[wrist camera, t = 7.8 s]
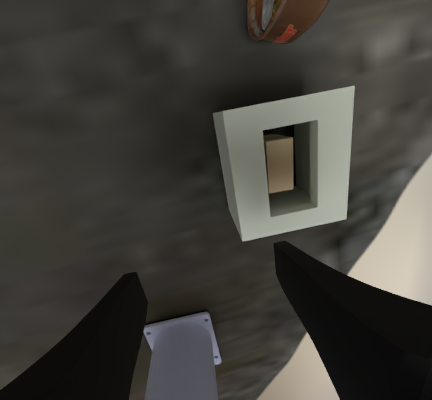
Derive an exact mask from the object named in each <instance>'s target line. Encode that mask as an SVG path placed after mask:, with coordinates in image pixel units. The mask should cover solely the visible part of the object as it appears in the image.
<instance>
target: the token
mask: <svg viewBox="0 0 432 400" xmlns="http://www.w3.org/2000/svg"><path fill="white" fill-rule="evenodd" d="M263 139H264V151H265V162H266V173H267V184H268V193H269V194H270V193H275V192H281V191H286V190H292V189H294V186H293V137H288V136H283V135H277V134H269V135H263Z"/></svg>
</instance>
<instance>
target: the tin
mask: <svg viewBox="0 0 432 400" xmlns="http://www.w3.org/2000/svg"><path fill="white" fill-rule="evenodd" d="M329 1H330V0H248V3H247V25H248V31H249V34H250V37H251V38H252V39H253V40H255V41H259V40H264V41H269V42H274V43H280V44H287V43H291V42H293V41H294V40H296V39H297V38H298V37H300V36H301V35H302V34H303V33H304V32H305V31H306V30H307V29H308V28H310V27H311V26H312V25H313V24H314V23H315V22H316V20H317V19H318V18H319V17H320V15H321V14H322V12H323V11H324V9H325V8H326V6H327V5H328V3H329Z"/></svg>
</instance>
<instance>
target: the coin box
mask: <svg viewBox="0 0 432 400" xmlns="http://www.w3.org/2000/svg"><path fill="white" fill-rule="evenodd" d="M354 87H355V86H351V87H345V88H340V89H335V90H330V91H325V92H319V93H314V94H309V95H304V96H299V97H293V98H288V99H283V100H278V101H273V102H267V103H262V104H257V105H252V106H247V107H241V108H236V109H231V110H226V111H221V112H216V113H213V119H214V125H215V130H216V136H217V142H218V148H219V154H220V160H221V166H222V171H223V177H224V183H225V189H226V195H227V201H228V207H229V211H230V213H231V215H232V218H233V220H234V222H235V225H236V227H237V230H238V232H239V234H240V237H241V239H242V242H243V241H248V240H253V239H257V238H262V237H266V236H271V235H276V234H280V233H285V232H289V231H294V230H299V229H303V228H308V227H312V226H317V225H322V224H326V223H331V222H335V221H340V220H345V219H346V217H347V201H348V185H349V168H350V152H351V136H352V120H353V104H354ZM293 124H294V139H295V166H296V186H294V189H292V190H286V191H281V192H275V193H270V194H269V193H268V184H267V173H266V162H265V151H264V139H263V130H268V129H273V128H278V127H283V126H288V125H293Z"/></svg>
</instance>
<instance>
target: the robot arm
mask: <svg viewBox="0 0 432 400" xmlns="http://www.w3.org/2000/svg"><path fill="white" fill-rule="evenodd" d="M274 253H275V266H276V275H277V277H278V280H279V282H280V284H281V287H282V289H283V291H284V293H285V295H286V296H287V298H288V300H289V302H290V303H291V305H292V307H293V308H294V310H295V312H296V313H297V315H298V317H299V318H300V320H301V322H302V323H303V325H304V327H305V329H306V330H307V332H308V334H309V335H310V337H311V339H312V341H313V343H314V345H315V347H316V349H317V351H318V353H319V355H320V357H321V359H322V362H323V364H324V366H325V368H326V370H327V372H328V374H329V376H330V379H331V381H332V383H333V385H334V387H335V389H336V391H337V394H338V396H339V398H340V400H432V306H431V305H428V304H424V303H421V302H418V301H414V300H411V299H407V298H405V297H401V296H398V295H395V294H392V293H390V292H387V291H384V290H381V289H379V288H376V287H373V286H371V285H368V284H366V283H363V282H361V281H358V280H356V279H354V278H351V277H349V276H347V275H345V274H343V273H341V272H339V271H337V270H335V269H333V268H331V267H329V266H327V265H325V264H323V263H322V262H320V261H318V260H316V259H314V258H313V257H311V256H309V255H308V254H306V253H304V252H303V251H301V250H299V249H298V248H296V247H295V246H293V245H291V244H290V243H288V242H286V241H282V242H277V243H274ZM147 305H148V301H147V298H146V296H145V293H144V290H143V288H142V285H141V283H140V280H139V277H138V275H137V272H133V273H128V274H124V275H123V276H122V277H121V278H120V279H119V280H118V282H117V283H116V284H115V285H114V286H113V287H112V288H111V289H110V290H109V292H108V293H107V294H106V295H105V296H104V297H103V298H102V299H101V300H100V301H99V303H98V304H97V305H96V306H95V307H94V308H93V309H92V310H91V311H90V312H89V313H88V314H87V315H86V316H85V317H84V318H83V319H82V320H81V321H80V322H79V323H78V324H77V325H76V326H75V328H73V329H72V330H71V331H70V332H69V333H68V334H67V335H66V336H65V337H64V338H63V339H62V340H61V341H60V342H59V343H57V344H56V345H55V346H54V347H53V348H52V349H51V350H50V351H48V352H47V353H46V354H45V355H44V356H43V357H41V358H40V359H39V360H38V361H36V362H35V363H34V364H33V365H32V366H30V367H29V368H28V369H27V370H26V371H24V372H23V373H22V374H21V375H19V376H18V377H17V378H16V379H14V380H13V381H12V382H10V383H9V384H8V385H7V386H5V387H4V388H3V389H1V390H0V400H129V394H130V388H131V382H132V378H133V373H134V369H135V364H136V360H137V356H138V352H139V348H140V344H141V340H142V335H143V332H144V334H145V336H146V339H147V341H148V343H149V345H150V348H151V350H152V357H151V363H150V369H149V375H148V381H147V387H146V394H145V400H218V395H217V385H216V375H215V365H217V364H220V363H221V356H220V352H219V349H218V345H217V341H216V337H215V333H214V330H213V326H212V322H211V318H210V314H209V313H208V312H202V313H197V314H193V315H188V316H184V317H180V318H175V319H171V320H167V321H162V322H158V323H153V324H149V325H146V326H145V322H146V314H147Z"/></svg>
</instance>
